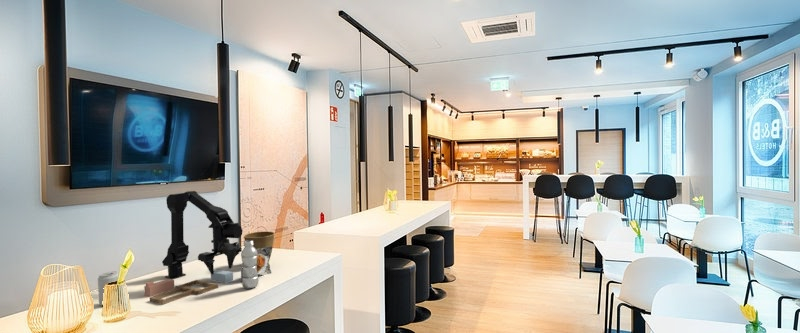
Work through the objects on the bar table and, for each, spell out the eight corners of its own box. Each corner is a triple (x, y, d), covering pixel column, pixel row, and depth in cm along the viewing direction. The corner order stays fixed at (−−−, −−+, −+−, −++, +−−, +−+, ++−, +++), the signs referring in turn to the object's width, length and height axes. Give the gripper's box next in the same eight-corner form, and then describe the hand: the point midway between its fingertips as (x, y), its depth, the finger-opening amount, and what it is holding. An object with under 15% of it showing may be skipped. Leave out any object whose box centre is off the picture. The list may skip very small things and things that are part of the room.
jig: (145, 300, 150) (145, 296, 149) (196, 283, 169) (196, 279, 169) (167, 305, 143) (167, 302, 142) (218, 287, 162) (218, 284, 162)
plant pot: (239, 266, 193) (237, 235, 192) (263, 259, 205) (262, 230, 205) (257, 270, 185) (256, 238, 185) (281, 262, 198) (280, 232, 197)
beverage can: (108, 307, 143) (106, 276, 143) (94, 306, 144) (93, 275, 144) (124, 301, 149) (122, 271, 149) (110, 300, 151) (109, 270, 150)
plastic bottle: (244, 285, 163) (242, 239, 163) (260, 284, 164) (258, 239, 163) (239, 290, 157) (237, 243, 156) (256, 289, 157) (254, 242, 157)
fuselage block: (144, 295, 155) (144, 282, 155) (168, 287, 164) (168, 275, 164) (150, 297, 153) (149, 283, 153) (174, 289, 162) (174, 276, 162)
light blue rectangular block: (211, 280, 172) (210, 272, 172) (218, 278, 176) (218, 269, 176) (225, 283, 168) (225, 274, 167) (233, 280, 171) (232, 272, 171)
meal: (247, 283, 166) (246, 254, 166) (241, 282, 168) (239, 253, 168) (273, 273, 179) (272, 246, 179) (267, 272, 181) (266, 245, 181)
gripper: (212, 243, 159) (214, 279, 160) (249, 234, 176) (250, 267, 176) (196, 241, 164) (198, 276, 165) (232, 233, 181) (234, 265, 181)
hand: (221, 271), depth 172 cm, fingers open, 9 cm apart
